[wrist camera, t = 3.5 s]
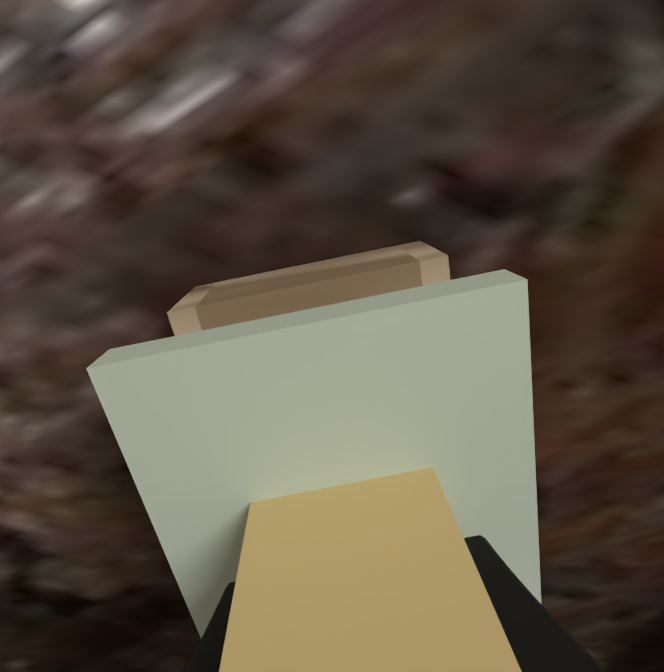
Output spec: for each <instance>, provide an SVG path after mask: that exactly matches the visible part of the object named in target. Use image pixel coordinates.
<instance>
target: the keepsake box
mask: <svg viewBox="0 0 664 672" xmlns="http://www.w3.org/2000/svg"><path fill="white" fill-rule="evenodd" d="M449 280H450V271H449V262H448V255H446V254H444V253H442V252H440V251H439V250H437V249H435V248H433V247H431V246H429V245H427V244H425V243H423V242H421V241H416V242H412V243H407V244H402V245H397V246H392V247H387V248H382V249H377V250H372V251H368V252H363V253H358V254H353V255H348V256H343V257H338V258H333V259H329V260H324V261H319V262H314V263H309V264H304V265H299V266H294V267H289V268H285V269H280V270H275V271H270V272H265V273H260V274H255V275H250V276H246V277H241V278H236V279H231V280H226V281H221V282H216V283H211V284H206V285H202V286H197V287H194V288H193V289H192V290H191V291H190V292H189V293H188V294H187V295H186V296H185V297H183V298H182V299H181V300H180V301H179V302H178V303H177V304H176V305H175V306H174V307H173V308H171V309H170V310H169V311H168V312H167V314H168V317H169V320H170V323H171V326H172V329H173V332H174V335H175V336H178V335H183V334H188V333H193V332H197V331H202V330H207V329H212V328H217V327H222V326H227V325H232V324H237V323H242V322H247V321H252V320H257V319H262V318H267V317H272V316H277V315H281V314H286V313H291V312H296V311H301V310H306V309H311V308H316V307H321V306H326V305H331V304H336V303H341V302H346V301H351V300H356V299H360V298H365V297H370V296H375V295H380V294H385V293H390V292H395V291H400V290H405V289H410V288H415V287H420V286H425V285H430V284H435V283H440V282H444V281H449Z"/></svg>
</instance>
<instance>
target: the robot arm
mask: <svg viewBox="0 0 664 672" xmlns="http://www.w3.org/2000/svg"><path fill="white" fill-rule="evenodd" d="M464 540H465V542H466V545H467V547H468V549H469V551H470V554H471V556H472V558H473V561H474V563H475V565H476V568H477V570H478V572H479V575H480V577H481V579H482V581H483V584H484V586H485V588H486V591H487V593H488V595H489V598H490V600H491V602H492V605H493V607H494V609H495V611H496V614H497V616H498V618H499V621H500V623H501V625H502V628H503V630H504V632H505V635H506V637H507V639H508V641H509V644H510V646H511V648H512V651H513V653H514V655H515V658H516V660H517V662H518V665H519V667H520V669H521V671H522V672H607V671H606V670H605V669H604V668H603V667H602V666H601V665H600V664H599V663H598V662H597V661H596V660H595V659H594V658H593V657H592V656H591V655H590V654H589V653H588V652H587V651H586V650H585V649H584V648H583V647H582V646H581V645H580V644H579V643H578V642H577V641H576V640H575V639H574V638H573V637H572V636H571V635H570V634H569V633H568V632H567V631H566V630H565V629H564V628H563V627H562V626H561V625H560V624H559V622H558V621H557V620H556V619H555V618H554V617H553V616H552V615H551V614H550V613H549V612H548V611H547V610H546V609H545V608H544V607H543V606H542V604H541V603H540V602H539V601H538V600H537V599H536V598H535V597H534V596H533V595H532V593H531V592H530V591H529V590H528V589H527V588H526V587H525V586H524V584H523V583H522V582H521V581H520V580H519V579H518V578H517V576H516V575H515V574H514V573H513V572H512V571H511V569H510V568H509V567H508V566H507V565H506V563H505V562H504V561H503V560H502V559H501V557H500V556H499V555H498V554H497V552H496V551H495V550H494V549H493V547H492V546H491V545H490V543H489V542H488V541H487V539H486V538H484V537H483V536H481V535H477V536H472V537H466V538H464ZM235 583H236V582H230V583H229V584H228V585H227V587H226V588H225V590H224V592H223V595H222V597H221V599H220V601H219V603H218V605H217V607H216V609H215V611H214V613H213V615H212V617H211V620H210V622H209V624H208V626H207V628H206V630H205V632H204V634H203V636H202V638H201V640H200V642H199V644H198V646H197V648H196V650H195V652H194V654H193V656H192V658H191V660H190V661H189V663H188V665H187V667H186V669H185V671H184V672H219V669H220V664H221V658H222V653H223V647H224V642H225V637H226V631H227V626H228V621H229V615H230V610H231V604H232V599H233V594H234V588H235Z"/></svg>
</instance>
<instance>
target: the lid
mask: <svg viewBox="0 0 664 672" xmlns="http://www.w3.org/2000/svg"><path fill="white" fill-rule="evenodd" d="M86 369H87V371H88V374H89V376H90V378H91V381H92V383H93V385H94V388H95V390H96V392H97V395H98V397H99V400H100V402H101V404H102V407H103V409H104V411H105V414H106V416H107V418H108V421H109V423H110V425H111V428H112V430H113V432H114V435H115V437H116V440H117V442H118V444H119V447H120V449H121V451H122V454H123V456H124V458H125V461H126V463H127V465H128V468H129V470H130V473H131V475H132V477H133V480H134V482H135V484H136V487H137V489H138V491H139V494H140V496H141V498H142V501H143V503H144V505H145V508H146V510H147V513H148V515H149V517H150V520H151V522H152V524H153V527H154V529H155V531H156V534H157V536H158V538H159V541H160V543H161V545H162V548H163V550H164V553H165V555H166V557H167V560H168V562H169V564H170V567H171V569H172V571H173V574H174V576H175V578H176V581H177V583H178V585H179V588H180V590H181V593H182V595H183V597H184V600H185V602H186V604H187V607H188V609H189V611H190V614H191V616H192V618H193V621H194V623H195V626H196V628H197V630H198V633H199V635H200V637H201V638H202V636H203V634H204V632H205V630H206V628H207V626H208V624H209V622H210V620H211V617H212V615H213V613H214V611H215V609H216V607H217V605H218V603H219V601H220V599H221V597H222V595H223V592H224V590H225V588H226V587H227V585H228V584H229V583H230V582H236V583H235V588H234V594H233V599H232V604H231V610H230V615H229V621H228V626H227V631H226V637H225V642H224V647H223V653H222V658H221V664H220V669H219V672H522V671H521V669H520V667H519V665H518V662H517V660H516V658H515V655H514V653H513V651H512V648H511V646H510V644H509V641H508V639H507V637H506V635H505V632H504V630H503V628H502V625H501V623H500V621H499V618H498V616H497V614H496V611H495V609H494V607H493V605H492V602H491V600H490V598H489V595H488V593H487V591H486V588H485V586H484V584H483V581H482V579H481V577H480V575H479V572H478V570H477V568H476V565H475V563H474V561H473V558H472V556H471V554H470V551H469V549H468V547H467V545H466V542H465V540H464V538H466V537H472V536H477V535H481V536H483V537H484V538H486V539H487V541H488V542H489V543H490V545H491V546H492V547H493V549H494V550H495V551H496V552H497V554H498V555H499V556H500V557H501V559H502V560H503V561H504V562H505V563H506V565H507V566H508V567H509V568H510V569H511V571H512V572H513V573H514V574H515V575H516V576H517V578H518V579H519V580H520V581H521V582H522V583H523V584H524V586H525V587H526V588H527V589H528V590H529V591H530V592H531V593H532V595H533V596H534V597H535V598H536V599H537V600H538V601H539V602H540V603H541V585H540V562H539V538H538V515H537V492H536V469H535V445H534V422H533V399H532V376H531V353H530V329H529V306H528V283H527V279H525V278H523V277H521V276H518V275H516V274H514V273H512V272H509V271H507V270H505V269H504V270H499V271H494V272H489V273H484V274H479V275H474V276H469V277H464V278H459V279H454V280H449V281H444V282H440V283H435V284H430V285H425V286H420V287H415V288H410V289H405V290H400V291H395V292H390V293H385V294H380V295H375V296H370V297H365V298H360V299H356V300H351V301H346V302H341V303H336V304H331V305H326V306H321V307H316V308H311V309H306V310H301V311H296V312H291V313H286V314H281V315H277V316H272V317H267V318H262V319H257V320H252V321H247V322H242V323H237V324H232V325H227V326H222V327H217V328H212V329H207V330H202V331H197V332H193V333H188V334H183V335H178V336H173V337H168V338H163V339H158V340H153V341H148V342H143V343H138V344H133V345H128V346H123V347H118V348H113V349H109V350H108V351H107V352H106V353H104V354H103V355H102V356H101V357H100V358H98V359H97V360H96V361H95V362H94V363H92V364H91V365H90V366H89V367H88V368H86Z"/></svg>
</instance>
